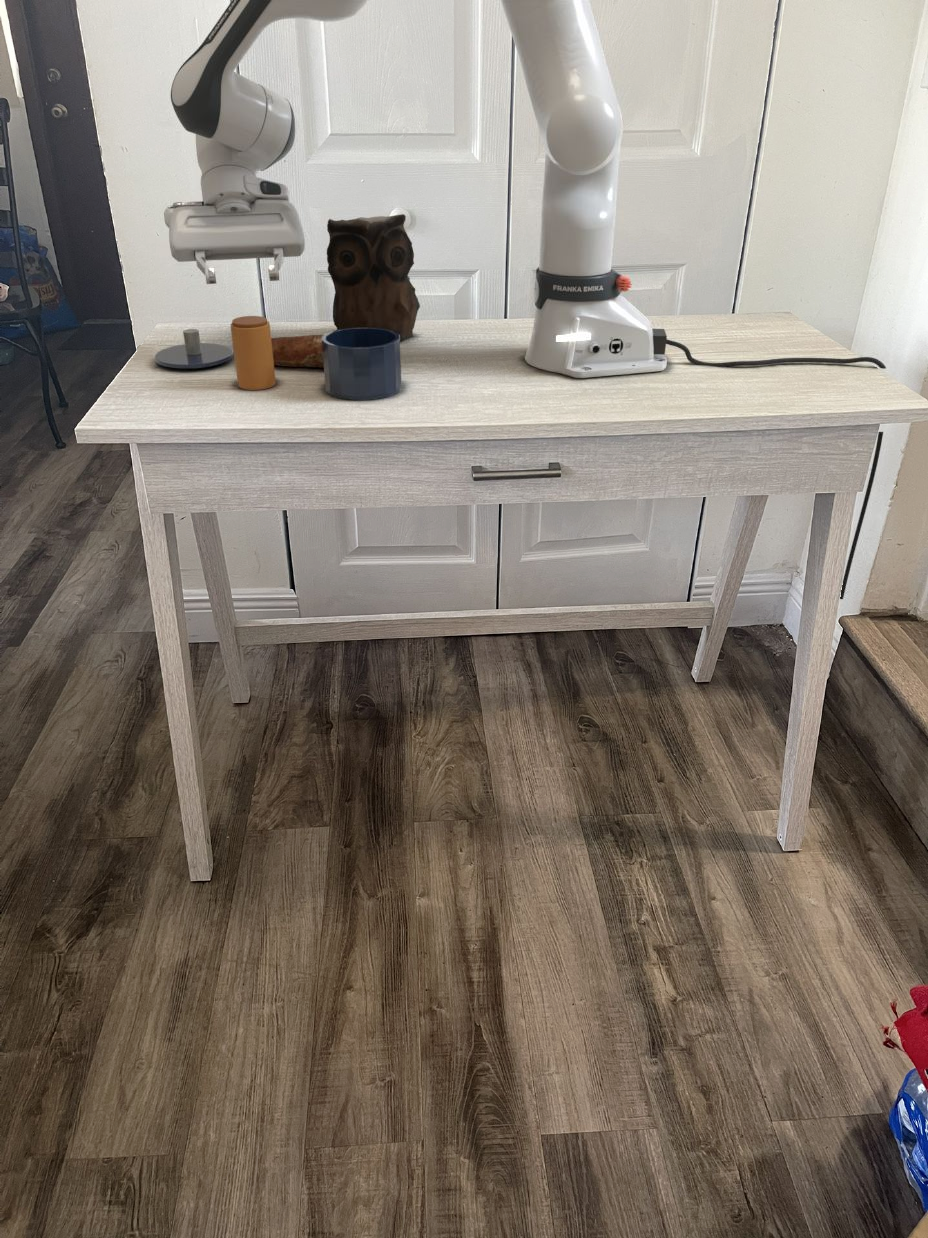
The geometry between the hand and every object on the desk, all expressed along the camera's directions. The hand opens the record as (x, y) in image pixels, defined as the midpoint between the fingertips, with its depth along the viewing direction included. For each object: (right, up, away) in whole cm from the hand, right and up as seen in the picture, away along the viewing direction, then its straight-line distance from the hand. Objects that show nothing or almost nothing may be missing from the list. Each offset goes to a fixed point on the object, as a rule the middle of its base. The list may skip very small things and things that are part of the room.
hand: (243, 280), depth 143 cm
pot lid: (-10, -9, +8) cm, 16 cm away
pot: (+19, -17, -3) cm, 25 cm away
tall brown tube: (+2, -16, -2) cm, 16 cm away
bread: (+9, -12, +6) cm, 16 cm away
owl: (+18, -2, +22) cm, 28 cm away
